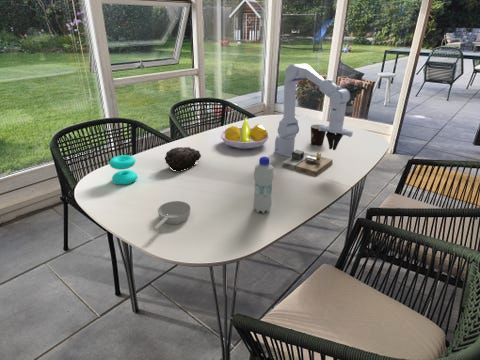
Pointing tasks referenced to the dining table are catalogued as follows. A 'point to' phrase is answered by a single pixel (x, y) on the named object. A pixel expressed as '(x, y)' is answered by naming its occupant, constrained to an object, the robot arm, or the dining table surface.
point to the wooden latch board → (307, 164)
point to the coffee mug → (317, 135)
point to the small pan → (173, 213)
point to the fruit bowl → (245, 136)
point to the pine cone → (182, 158)
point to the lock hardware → (300, 156)
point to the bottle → (263, 185)
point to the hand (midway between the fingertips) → (332, 149)
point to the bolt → (317, 159)
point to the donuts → (124, 175)
